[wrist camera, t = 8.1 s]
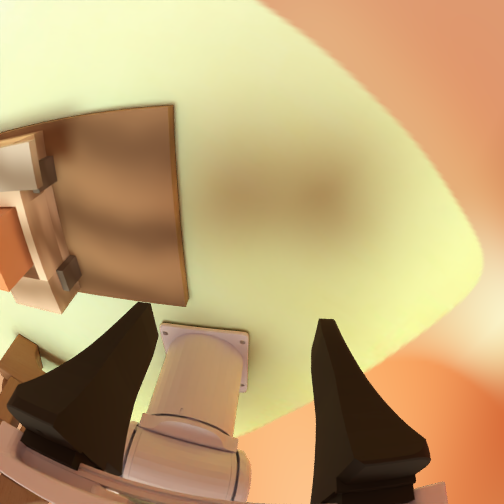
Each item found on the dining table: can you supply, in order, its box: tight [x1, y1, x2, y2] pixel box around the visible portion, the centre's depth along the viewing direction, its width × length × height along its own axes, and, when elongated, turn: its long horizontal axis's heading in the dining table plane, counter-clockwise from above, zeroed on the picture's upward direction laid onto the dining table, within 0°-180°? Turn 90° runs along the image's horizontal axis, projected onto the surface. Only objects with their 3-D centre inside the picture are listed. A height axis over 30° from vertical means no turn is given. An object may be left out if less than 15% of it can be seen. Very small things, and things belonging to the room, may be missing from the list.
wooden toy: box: [0, 334, 49, 504], centre depth 25 cm, size 16×7×25 cm, turn 67°
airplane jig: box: [0, 105, 189, 314], centre depth 19 cm, size 15×20×5 cm
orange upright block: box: [0, 207, 34, 292], centre depth 18 cm, size 5×3×6 cm, turn 179°
